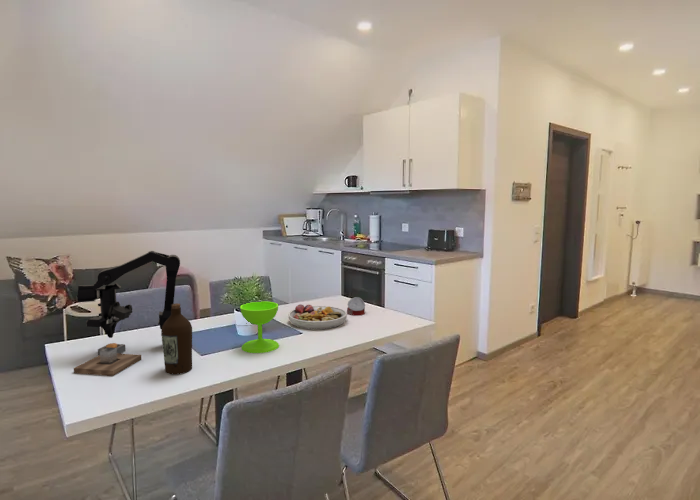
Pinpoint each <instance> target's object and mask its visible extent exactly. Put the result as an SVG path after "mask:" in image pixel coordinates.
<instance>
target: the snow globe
mask: <svg viewBox="0 0 700 500" xmlns="http://www.w3.org/2000/svg"><path fill="white" fill-rule="evenodd" d="M365 309H366V303H365V301H364V300H363V299H362V298H361V297H358V296H355V297H352V298H350V300H349V301H348V302H347V308H346V312H347V316H348V315H349V316H353V317H355V316H357V317H358V316H364V315H365V313H366V311H365Z"/></svg>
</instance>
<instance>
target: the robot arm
mask: <svg viewBox="0 0 700 500" xmlns="http://www.w3.org/2000/svg"><path fill="white" fill-rule="evenodd" d="M151 262H153V263H156V264H158V265H161V266H165V271H166V283H165V295H164V305H163V310H162V311H159V313H158V317H159V318H158V322H157V324H158V325H159V329H160V331H161V330H162V326H163V324H164V323H165V321H166V320H167V319H168V318H169V317H170V316H171V305H172V304H175V291H176V282H177V280H176V279H177V275H178V273H179V270H180V265H181V260H180V257H179V256H178V255H176V254H170V255H169V254H166V253H161V252H156V251H154V250H150V251H147V253H145V254H142V255H140V256H137V257H136V258H133V259H131V260H129V261H127V262H124V263H123V264H120V265H116V266H111V267H107V268H104V269H102V270H101V271H100V272H99V273H98V275H97V280H96V281H95V282H94V283H93V284H79V285H78V286H77V288H78V289H77V294H76V298H77V303H91V302H92V303H93V302H96V300H98V299H99V303H97V307H100V312H99V313H98V316H93V317H91V318H88V319H87V320H86V321H85V322H86V324H85V325H86V327H87V328H88V327H89V328H102V330H103V331H104V332H105V334H106V336H107V337H108V338H109V339H111V338H113V337H114V334H115V330H116V326H117V325H118V324H119V322H120V321H124V320H126V319H129V318H130V316H131V314H132V313H133V305H131V304H126V305H123V306H122V305H120V301H117V290H120V289H121V287H122V286H121V285H119V283H118V282H115V281H117V280H118V279H119V278H121V277H122V276H124V275H125V274H127V273H129V272H131V271H134V270H136V269H138V268H141V267H143V266H144V265H147V264H149V263H151ZM114 282H115V283H114ZM112 283H114V284H112Z"/></svg>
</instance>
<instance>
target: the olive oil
mask: <svg viewBox="0 0 700 500" xmlns="http://www.w3.org/2000/svg"><path fill="white" fill-rule="evenodd" d="M160 331H161V333H160V335H161V341H162V351H163V363H164V371H165V373H166V374H167V375H173V376H174V375H175V376H176V375H183V374H186V373H188V372H191V371H192V369H193V326H192V323H191V322H190V320H189V319H188V318H187V317H185V316H184V315H183V314H182V309H181V303H174V304H172V305H171V316H170V317H169V318H168V319H167V320H166V321H165V323H164V324H163V326H162V330H161V329H160Z"/></svg>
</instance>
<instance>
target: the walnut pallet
mask: <svg viewBox="0 0 700 500" xmlns="http://www.w3.org/2000/svg"><path fill="white" fill-rule="evenodd" d="M140 361H142V354H135V353H134V354H133V353H121V354H120V353H117V361H116V362H114V363H113V364H111V365H108V364H101V362H100V355H99V356H98V355H97V356H96V357H94V358H92V359H91V358H90V359H89V360H87V361H85V362H83V363H81V364H79V365H76V366H75V367H73V374H80V375H94V376H104V377H105V376H107V377H115V376H117V375H118V374H119V373H121V372H123V371H125V370H127V369H128V368H130V367H132V366H133V365H136V364H137V363H139V362H140Z"/></svg>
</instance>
